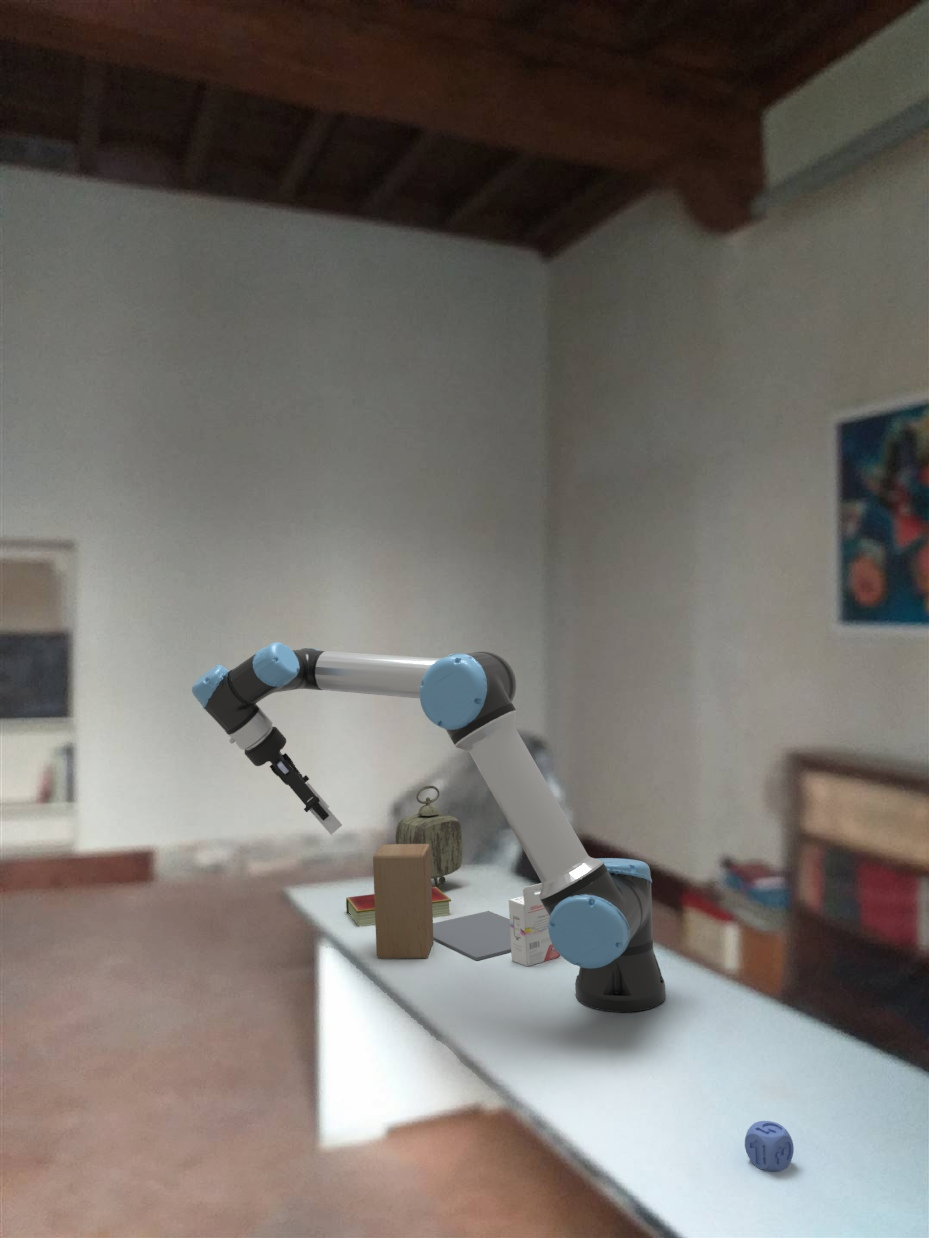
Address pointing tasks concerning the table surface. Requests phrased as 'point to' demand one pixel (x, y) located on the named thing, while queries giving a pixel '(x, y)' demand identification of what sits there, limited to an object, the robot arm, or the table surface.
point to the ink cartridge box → (530, 929)
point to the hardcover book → (365, 907)
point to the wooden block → (403, 901)
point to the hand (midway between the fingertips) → (329, 819)
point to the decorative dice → (769, 1146)
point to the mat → (475, 935)
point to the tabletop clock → (433, 837)
